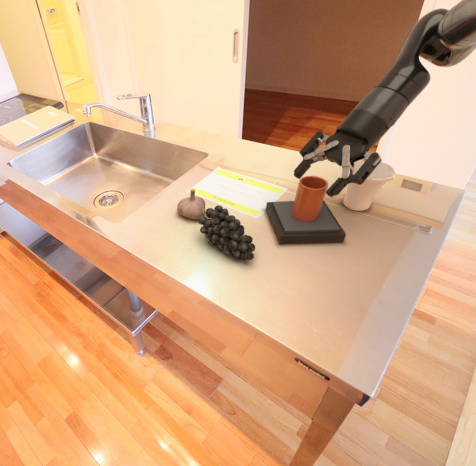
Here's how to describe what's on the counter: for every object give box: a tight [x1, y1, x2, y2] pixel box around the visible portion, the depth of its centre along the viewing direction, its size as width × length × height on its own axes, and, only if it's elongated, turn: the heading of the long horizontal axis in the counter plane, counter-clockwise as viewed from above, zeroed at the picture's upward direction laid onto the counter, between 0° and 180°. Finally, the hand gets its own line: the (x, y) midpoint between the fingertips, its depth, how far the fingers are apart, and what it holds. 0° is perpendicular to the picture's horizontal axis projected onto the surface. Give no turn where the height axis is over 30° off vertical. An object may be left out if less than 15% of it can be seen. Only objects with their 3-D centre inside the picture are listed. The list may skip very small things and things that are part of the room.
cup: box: [342, 159, 396, 212], centre depth 75 cm, size 9×9×10 cm
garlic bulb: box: [176, 188, 206, 220], centre depth 81 cm, size 8×7×8 cm
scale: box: [265, 199, 347, 245], centre depth 74 cm, size 13×13×3 cm
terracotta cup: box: [291, 175, 329, 222], centre depth 70 cm, size 5×5×8 cm
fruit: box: [197, 204, 256, 261], centre depth 70 cm, size 9×8×15 cm
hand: (311, 185), depth 68 cm, fingers open, 8 cm apart
